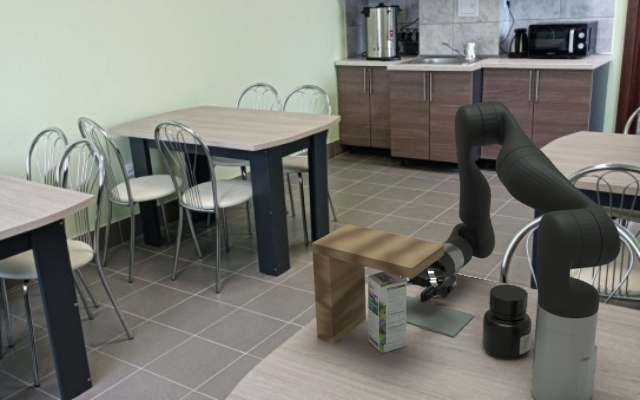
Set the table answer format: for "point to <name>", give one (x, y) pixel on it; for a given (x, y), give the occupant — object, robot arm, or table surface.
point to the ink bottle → (507, 323)
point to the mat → (436, 317)
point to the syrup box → (386, 311)
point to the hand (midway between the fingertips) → (403, 292)
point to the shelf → (359, 272)
